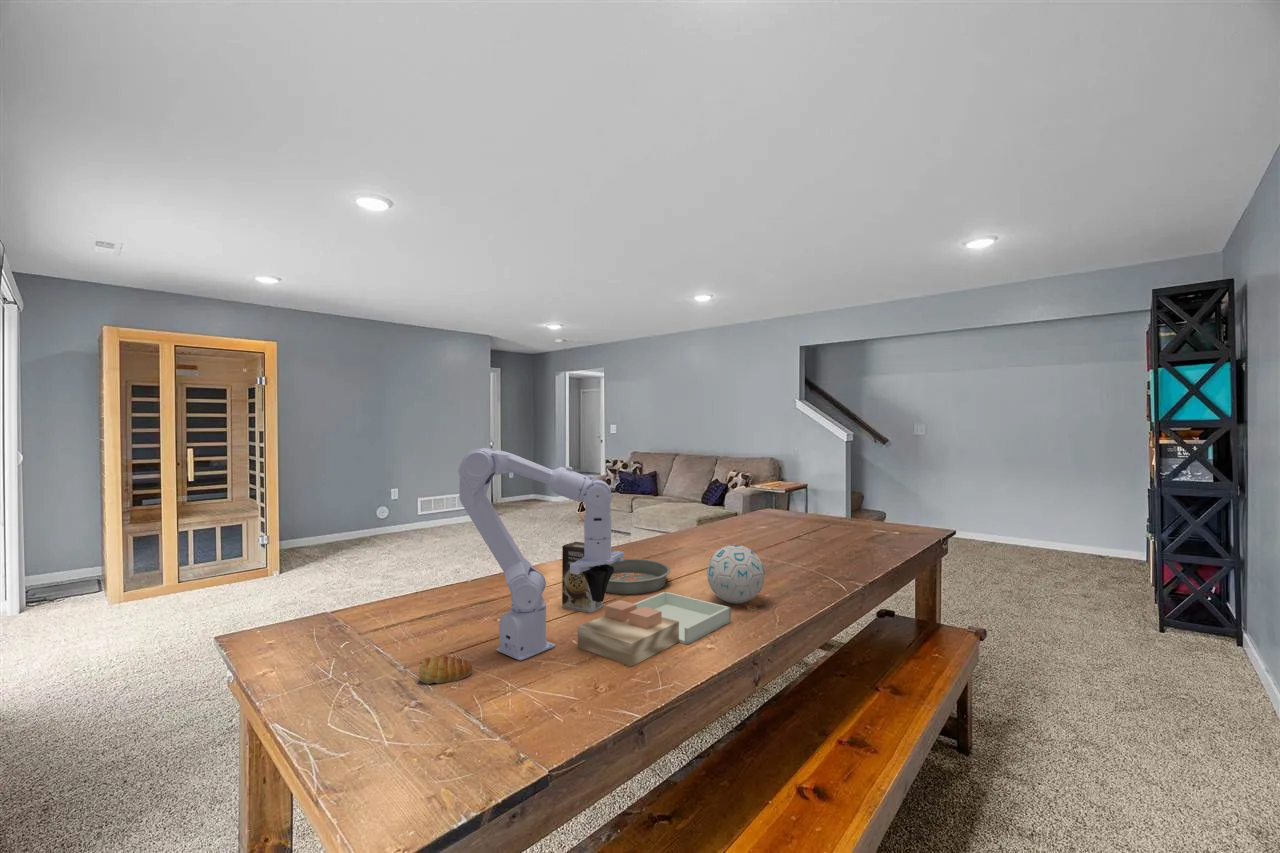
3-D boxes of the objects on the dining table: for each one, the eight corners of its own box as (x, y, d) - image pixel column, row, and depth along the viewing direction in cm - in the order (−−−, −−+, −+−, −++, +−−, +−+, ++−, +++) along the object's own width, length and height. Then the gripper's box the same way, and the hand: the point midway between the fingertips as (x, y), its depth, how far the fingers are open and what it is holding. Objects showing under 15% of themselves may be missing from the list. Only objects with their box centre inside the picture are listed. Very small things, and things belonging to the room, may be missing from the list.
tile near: (647, 629, 121) (647, 617, 121) (628, 623, 124) (628, 612, 124) (661, 622, 125) (661, 611, 125) (643, 617, 128) (643, 606, 128)
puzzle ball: (775, 607, 149) (776, 549, 148) (724, 614, 143) (725, 554, 143) (744, 590, 163) (744, 537, 163) (696, 596, 157) (696, 542, 157)
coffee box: (560, 608, 148) (560, 545, 147) (575, 601, 153) (575, 540, 153) (591, 613, 143) (591, 549, 143) (604, 606, 149) (604, 544, 149)
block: (631, 666, 113) (631, 643, 113) (577, 647, 123) (577, 626, 122) (678, 642, 125) (678, 621, 125) (626, 626, 135) (626, 607, 135)
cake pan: (575, 578, 176) (575, 563, 176) (648, 569, 186) (648, 555, 186) (604, 601, 154) (605, 584, 154) (685, 590, 164) (685, 574, 164)
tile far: (621, 621, 125) (621, 610, 125) (605, 616, 128) (605, 605, 128) (636, 615, 129) (636, 604, 129) (619, 610, 132) (619, 599, 132)
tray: (687, 644, 124) (687, 628, 124) (619, 623, 136) (619, 609, 136) (730, 621, 138) (730, 607, 138) (665, 604, 150) (665, 591, 150)
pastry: (473, 667, 113) (473, 647, 113) (470, 683, 107) (470, 662, 107) (422, 671, 111) (422, 652, 111) (417, 688, 105) (416, 667, 105)
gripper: (587, 545, 114) (587, 613, 115) (634, 534, 126) (634, 596, 126) (562, 540, 119) (562, 606, 119) (610, 530, 130) (610, 589, 130)
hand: (597, 600), depth 123 cm, fingers closed
